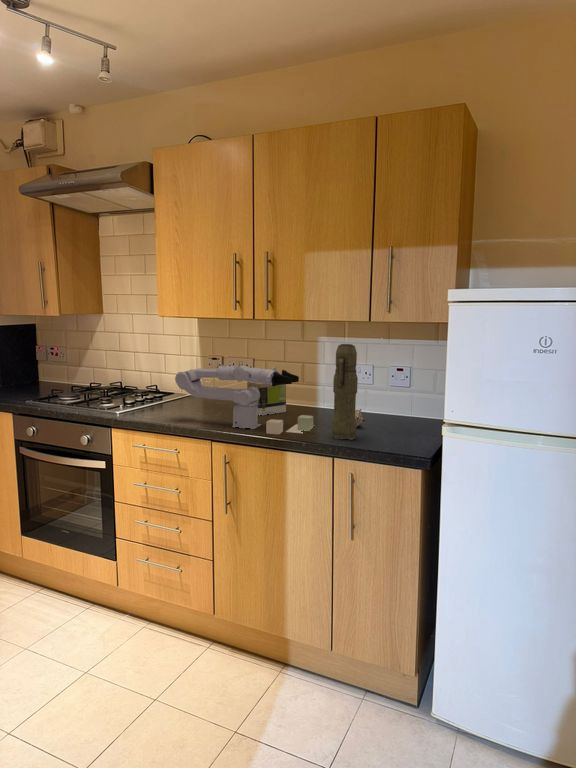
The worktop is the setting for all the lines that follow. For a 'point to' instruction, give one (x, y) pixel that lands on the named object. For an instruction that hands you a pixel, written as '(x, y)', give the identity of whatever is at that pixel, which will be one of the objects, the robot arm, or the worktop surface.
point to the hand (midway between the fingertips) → (295, 380)
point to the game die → (358, 417)
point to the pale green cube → (305, 422)
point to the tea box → (270, 398)
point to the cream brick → (274, 426)
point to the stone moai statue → (345, 392)
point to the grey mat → (294, 429)
